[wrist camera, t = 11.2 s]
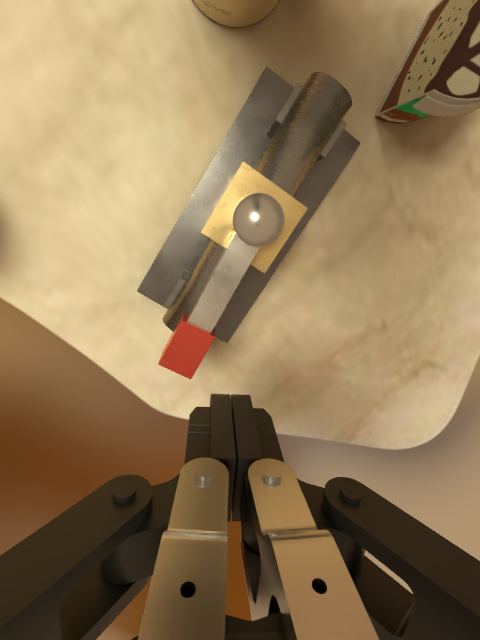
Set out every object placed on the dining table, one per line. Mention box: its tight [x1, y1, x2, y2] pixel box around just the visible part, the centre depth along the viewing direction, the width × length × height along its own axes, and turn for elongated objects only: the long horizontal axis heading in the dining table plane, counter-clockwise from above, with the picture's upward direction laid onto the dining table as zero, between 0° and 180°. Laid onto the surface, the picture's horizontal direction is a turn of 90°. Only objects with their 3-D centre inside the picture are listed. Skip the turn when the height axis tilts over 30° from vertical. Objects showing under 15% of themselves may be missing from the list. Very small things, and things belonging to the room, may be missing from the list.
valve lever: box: [159, 193, 284, 379], centre depth 26 cm, size 15×4×3 cm, turn 150°
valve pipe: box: [137, 67, 360, 343], centre depth 30 cm, size 24×11×9 cm, turn 147°
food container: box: [375, 0, 480, 124], centre depth 28 cm, size 12×6×10 cm, turn 154°
